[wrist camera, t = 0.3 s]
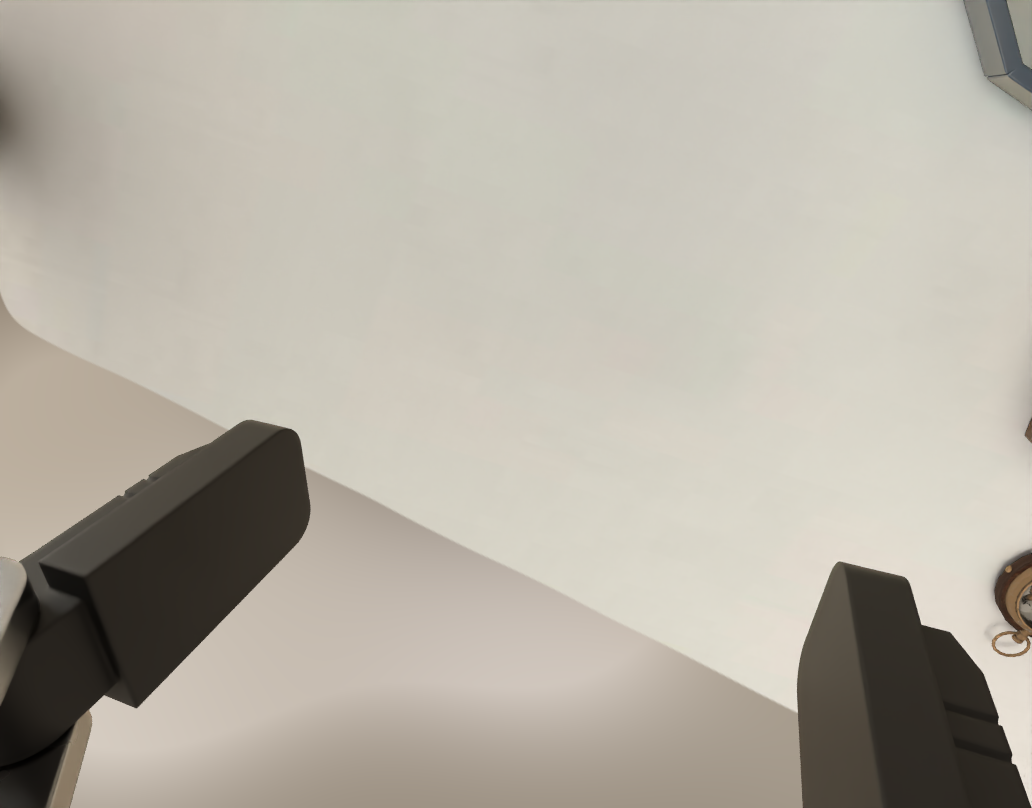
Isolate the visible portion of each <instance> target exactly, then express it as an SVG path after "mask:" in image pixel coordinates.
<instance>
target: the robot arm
mask: <svg viewBox="0 0 1032 808" xmlns="http://www.w3.org/2000/svg"><path fill="white" fill-rule="evenodd" d="M309 518H310V500H309V494H308V487H307V480H306V474H305V467H304V460H303V454H302V447H301V442H300V438H299V436H298V434H297V433H296V432H295V431H294V430H292V429H288V428H284V427H280V426H276V425H272V424H267V423H263V422H259V421H255V420H246V421H243V422H241V423H239V424H238V425H236V426H235V427H233V428H232V429H230V430H229V431H227V432H226V433H225V434H223V435H222V436H220V437H219V438H217V439H216V440H214V441H213V442H211V443H209V444H207V445H205V446H202V447H199V448H197V449H194V450H192V451H189V452H187V453H184V454H182V455H179V456H177V457H175V458H174V459H172V460H171V461H169V462H168V463H166V464H165V465H164V466H162V467H160V468H159V469H157V470H156V471H154V472H153V473H151V474H150V475H149V478H148V479H147V480H145V479H143V480H141V481H140V482H138V483H136V484H135V485H133V486H132V487H131V488H129V489H127V490H126V491H125V494H124V496H117V497H116V498H114V499H113V500H111V501H110V502H108V503H107V504H105V505H104V506H102V507H101V508H99V509H98V510H96V511H95V512H93V513H92V514H90V515H89V516H87V517H86V518H84V519H83V520H81V521H80V522H78V523H77V524H75V525H74V526H72V527H71V528H69V529H68V530H66V531H65V532H64V533H62V534H60V535H59V536H57V537H56V538H54V539H53V540H51V541H50V542H49V543H47V544H45V545H44V546H42V547H41V548H40V549H38V550H36V551H35V552H33V553H32V554H30V555H29V556H27V557H26V558H24V559H22V560H21V561H19V562H17V561H16V560H13V559H10V558H6V557H0V808H70V805H71V802H72V798H73V794H74V790H75V787H76V783H77V780H78V776H79V772H80V769H81V765H82V761H83V757H84V754H85V750H86V747H87V743H88V739H89V735H90V732H91V727H92V716H91V714H90V712H89V709H90V708H91V707H92V706H93V705H94V704H95V703H96V702H97V701H98V700H99V699H100V698H101V697H102V696H103V695H105V696H108V697H110V698H112V699H115V700H117V701H120V702H122V703H125V704H127V705H129V706H132V707H134V708H138V707H139V706H140V705H141V703H142V702H143V701H144V700H145V699H146V698H147V697H148V696H149V695H150V694H151V693H152V692H153V691H154V690H155V689H156V688H157V687H158V686H159V685H160V684H161V683H162V682H163V681H164V680H165V679H166V678H167V677H168V676H169V675H170V673H172V672H173V671H174V670H175V669H176V668H177V666H178V665H179V664H180V663H181V662H182V661H183V660H184V659H185V658H186V657H187V656H188V655H189V654H190V653H191V652H192V651H193V650H194V649H195V648H196V647H197V646H198V645H199V644H200V643H201V642H202V641H203V640H204V639H205V638H206V637H207V636H208V635H209V634H210V632H212V631H213V630H214V628H215V627H216V626H217V625H218V624H219V623H220V622H221V621H222V620H223V619H224V618H225V617H226V616H227V615H228V614H229V613H230V612H231V611H232V610H233V609H234V608H235V607H236V606H237V605H238V604H239V603H240V602H241V601H242V600H243V599H244V597H246V596H247V595H248V593H249V592H250V591H252V589H253V588H254V587H255V586H256V585H257V584H258V583H259V582H260V581H261V580H262V579H263V578H264V577H265V576H266V575H267V574H268V573H269V572H270V571H271V570H272V569H273V568H274V567H275V566H276V565H277V564H278V563H279V561H281V560H282V559H283V558H284V557H285V555H287V554H288V552H289V551H290V550H291V549H292V548H293V547H294V546H295V545H296V544H297V543H298V542H299V540H300V539H301V538H302V536H303V534H304V532H305V530H306V528H307V525H308V522H309ZM797 702H798V721H799V740H800V759H801V779H802V799H803V808H1031V805H1030V802H1029V800H1028V797H1027V794H1026V791H1025V788H1024V786H1023V783H1022V780H1021V777H1020V774H1019V772H1018V769H1017V766H1016V765H1014V764H1012V761H1011V758H1012V752H1011V749H1010V747H1009V744H1008V741H1007V738H1006V735H1005V733H1004V730H1003V727H1002V726H1000V725H998V718H999V716H998V713H997V710H996V708H995V705H994V702H993V699H992V696H991V694H990V691H989V688H988V685H987V682H986V680H985V677H984V674H983V673H982V671H981V670H980V669H979V668H978V666H977V665H976V664H975V663H974V661H973V660H972V659H971V658H970V656H969V655H968V654H967V653H966V651H965V650H964V649H963V648H962V646H961V645H960V644H959V643H958V641H957V640H956V639H955V638H954V636H953V635H952V634H951V633H950V632H947V631H943V630H939V629H935V628H931V627H928V626H924V625H921V622H920V618H919V615H918V611H917V607H916V604H915V600H914V597H913V593H912V590H911V586H910V584H909V582H908V580H907V579H906V578H905V577H902V576H898V575H894V574H890V573H886V572H881V571H877V570H873V569H869V568H865V567H861V566H856V565H852V564H848V563H844V562H838V563H836V564H835V566H834V567H833V569H832V571H831V574H830V576H829V579H828V581H827V584H826V587H825V589H824V592H823V595H822V597H821V600H820V603H819V605H818V608H817V610H816V613H815V616H814V618H813V621H812V624H811V626H810V629H809V632H808V634H807V637H806V640H805V642H804V645H803V649H802V653H801V657H800V663H799V669H798V679H797Z"/></svg>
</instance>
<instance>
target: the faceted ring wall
mask: <svg viewBox="0 0 1032 808" xmlns="http://www.w3.org/2000/svg"><path fill="white" fill-rule="evenodd" d="M963 1H964V4H965V8H966V11H967V15H968V18H969V22H970V26H971V29H972V33H973V36H974V40H975V43H976V47H977V51H978V54H979V58H980V61H981V65H982V68H983V72H984V76H988V77H987V79H988V80H989V81H990V82H992V83H993V84H995V85H996V86H998V87H999V88H1000V89H1002V90H1003V91H1005V92H1006V93H1008V94H1009V95H1010V96H1012V97H1013V98H1015V99H1016V100H1018V101H1019V102H1020V103H1022V104H1023V105H1025V106H1026V107H1028V108H1029V109H1030V110H1032V69H1030V68H1029V67H1028V66H1026V65H1025V64H1023V62H1022V58H1021V54H1020V51H1019V47H1018V43H1017V39H1016V35H1015V32H1014V28H1013V24H1012V20H1011V16H1010V13H1009V9H1008V5H1007V1H1006V0H963Z"/></svg>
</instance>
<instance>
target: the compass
mask: <svg viewBox="0 0 1032 808" xmlns="http://www.w3.org/2000/svg"><path fill="white" fill-rule="evenodd" d="M995 599H996V604H997V605H998V607H999V609H1000V611H1001V613H1002V615H1003V616H1004V618H1005V620H1006V621H1007V622H1008V623H1009V624H1010V625H1012V626H1013V627H1014V628H1015V629H1016V630H1018V631H1017V632H1011V631H1007V632H1003V633H1000V634H998V635H996V636H995V637H994V639H993V640H992V647H993V649H994V650H995V651H996V652H997V653H999V654H1000V655H1003V656H1006V657H1016V656H1021V655H1023V654H1025V653H1026V652H1027V651H1028V650H1029V649H1030V641H1029V639H1028V636H1030V637H1032V553H1031V554H1029V555H1026V556H1024V557H1021V558H1020V559H1018V560H1017V561H1015V562H1014V563H1012V564H1011V565H1010V566H1007V567H1006V569H1005V571H1004V572H1003V573H1002V574H1001V576H1000V577H999V579H998V582H997V584H996V587H995ZM1020 630H1021V631H1020ZM1007 634H1014V635H1013V636H1012V639H1013V640H1014V641H1015V642H1017V643H1019V644H1021V643H1022V642H1023V641H1024V640H1026V641H1027V647H1026V648H1025V650H1024V651H1022V652H1020V653H1017V654H1005V653H1002V652H1000V651H999V650H997V649H996V647H995V641H996V640H997V639H998V638H999V637H1001V636H1003V635H1007Z"/></svg>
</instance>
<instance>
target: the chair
mask: <svg viewBox="0 0 1032 808" xmlns="http://www.w3.org/2000/svg"><path fill="white" fill-rule="evenodd" d="M1025 436H1026V437H1027V439H1028V440H1029V441H1030V442H1031V443H1032V419H1031V421H1030V424H1029V426H1028V429H1027V431H1026V433H1025Z"/></svg>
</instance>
